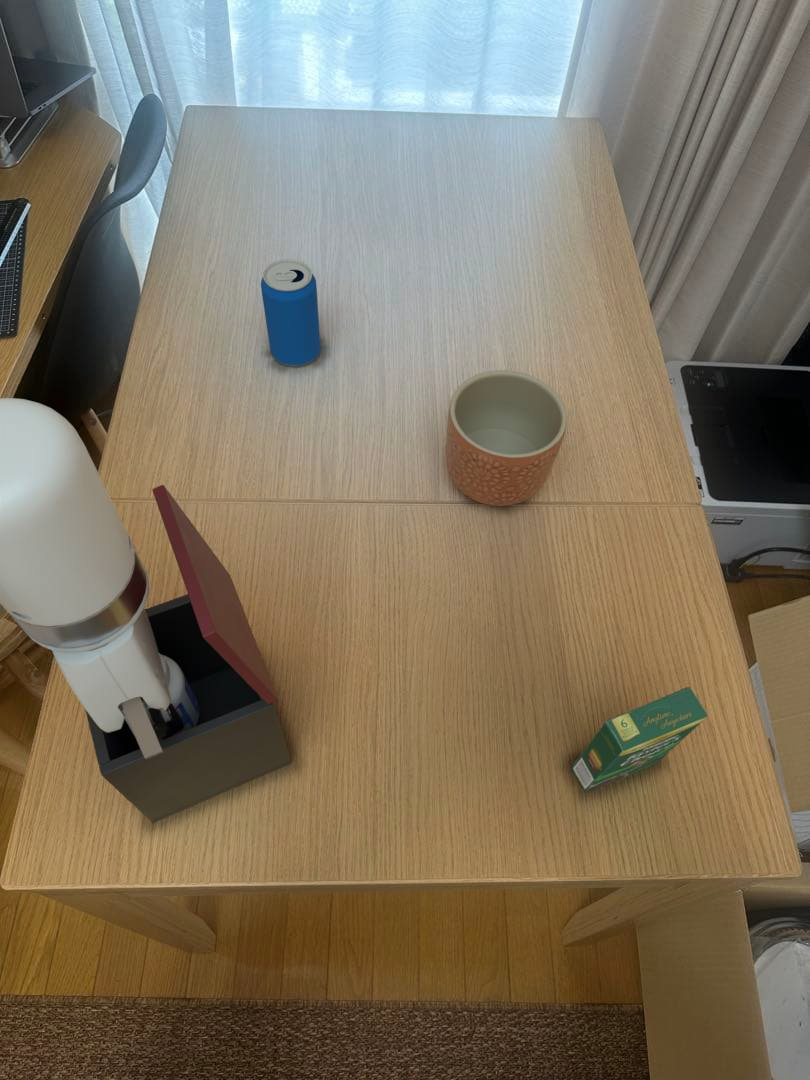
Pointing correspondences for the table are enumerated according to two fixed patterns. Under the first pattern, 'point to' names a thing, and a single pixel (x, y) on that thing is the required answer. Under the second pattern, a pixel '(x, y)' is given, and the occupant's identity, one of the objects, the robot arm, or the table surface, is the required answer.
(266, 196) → the table surface
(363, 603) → the table surface
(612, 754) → the coffee box
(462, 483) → the planter
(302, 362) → the beverage can
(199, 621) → the keepsake box lid
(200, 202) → the table surface
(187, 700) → the pill bottle
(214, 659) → the dark gray box
